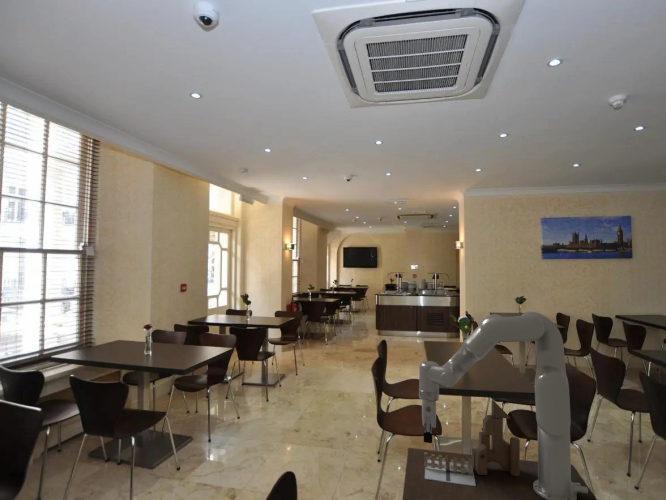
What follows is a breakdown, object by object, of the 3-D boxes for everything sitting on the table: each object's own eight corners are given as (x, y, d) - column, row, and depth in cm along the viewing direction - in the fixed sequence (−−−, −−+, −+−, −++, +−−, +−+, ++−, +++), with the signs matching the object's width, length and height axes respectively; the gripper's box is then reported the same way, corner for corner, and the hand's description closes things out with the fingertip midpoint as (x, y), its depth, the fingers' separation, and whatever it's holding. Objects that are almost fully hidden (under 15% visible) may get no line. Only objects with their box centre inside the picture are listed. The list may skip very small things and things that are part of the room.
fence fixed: (471, 474, 140) (471, 458, 140) (471, 476, 139) (471, 459, 139) (450, 471, 142) (450, 455, 142) (450, 473, 141) (450, 457, 141)
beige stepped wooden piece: (449, 469, 142) (449, 455, 142) (449, 471, 141) (449, 457, 141) (424, 466, 144) (424, 452, 144) (424, 468, 143) (424, 453, 143)
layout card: (472, 465, 146) (472, 464, 146) (475, 486, 132) (475, 485, 132) (425, 459, 150) (425, 458, 150) (424, 479, 137) (424, 478, 137)
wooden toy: (477, 475, 139) (478, 404, 140) (471, 465, 145) (472, 398, 146) (521, 477, 138) (521, 406, 139) (513, 467, 145) (513, 399, 146)
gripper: (438, 402, 142) (438, 452, 142) (438, 389, 157) (437, 434, 156) (418, 399, 144) (417, 449, 144) (419, 387, 159) (418, 432, 158)
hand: (427, 441), depth 150 cm, fingers closed
